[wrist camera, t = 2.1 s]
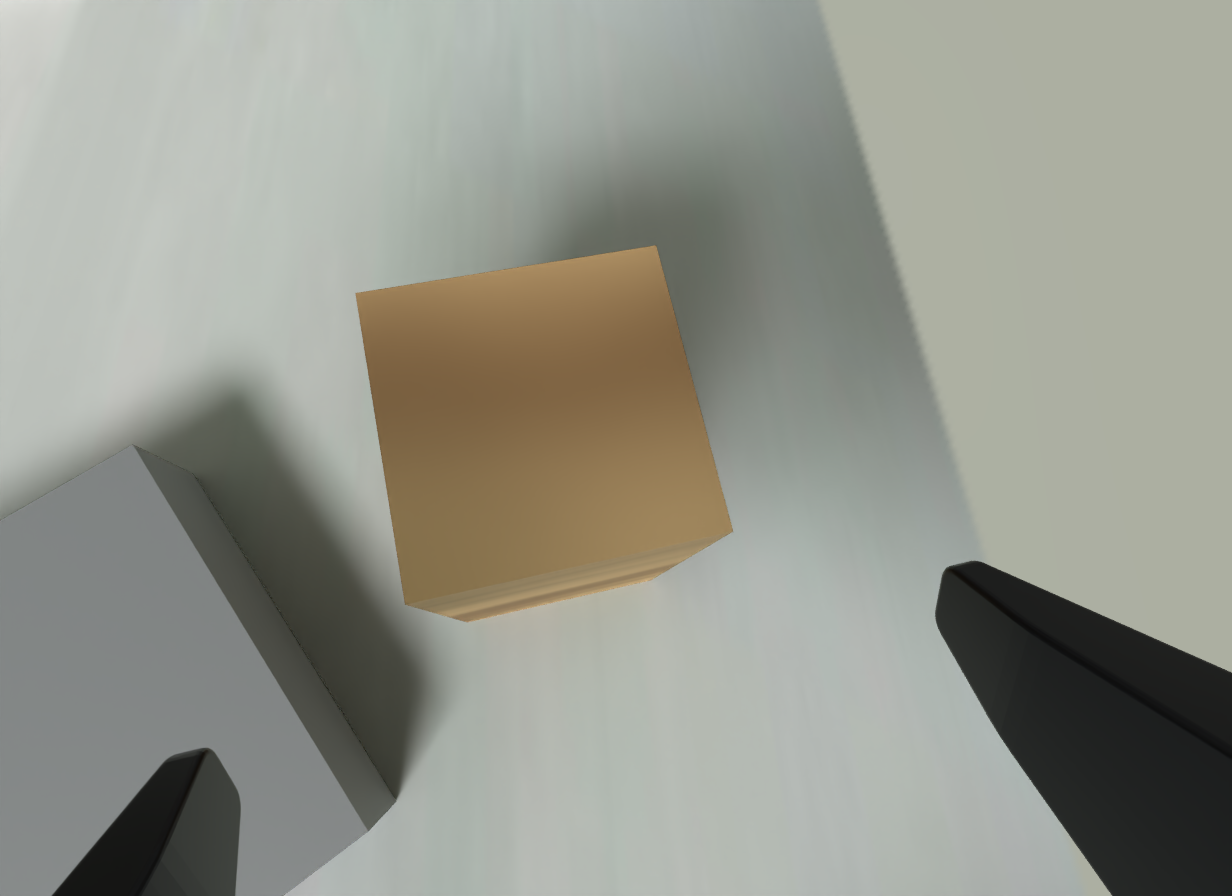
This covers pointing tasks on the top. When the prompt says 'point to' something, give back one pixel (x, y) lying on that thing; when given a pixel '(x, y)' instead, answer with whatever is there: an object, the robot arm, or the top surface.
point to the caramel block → (538, 433)
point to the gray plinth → (158, 682)
